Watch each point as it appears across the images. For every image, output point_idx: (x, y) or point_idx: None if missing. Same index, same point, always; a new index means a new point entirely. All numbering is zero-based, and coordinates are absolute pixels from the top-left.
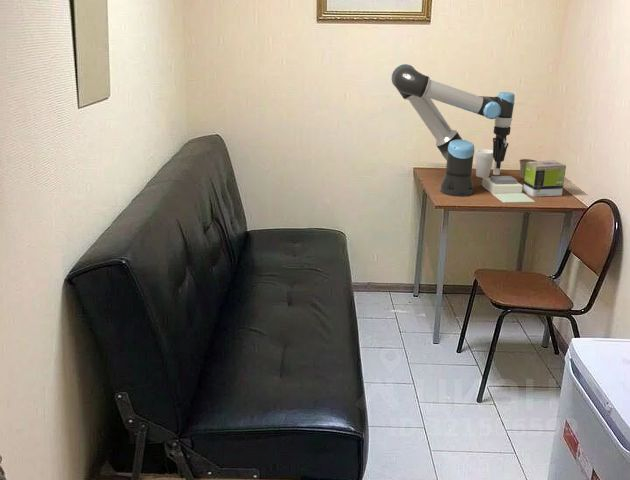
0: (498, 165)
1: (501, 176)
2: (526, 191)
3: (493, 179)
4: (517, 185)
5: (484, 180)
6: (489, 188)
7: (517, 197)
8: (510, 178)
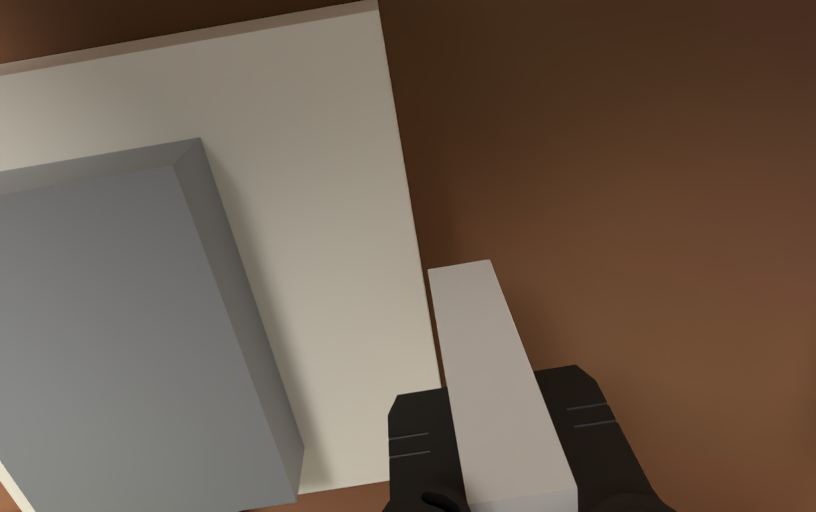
0: (391, 475)
1: (214, 367)
2: None
3: (28, 181)
4: (9, 481)
5: (272, 25)
6: (22, 63)
7: None
8: (118, 474)
